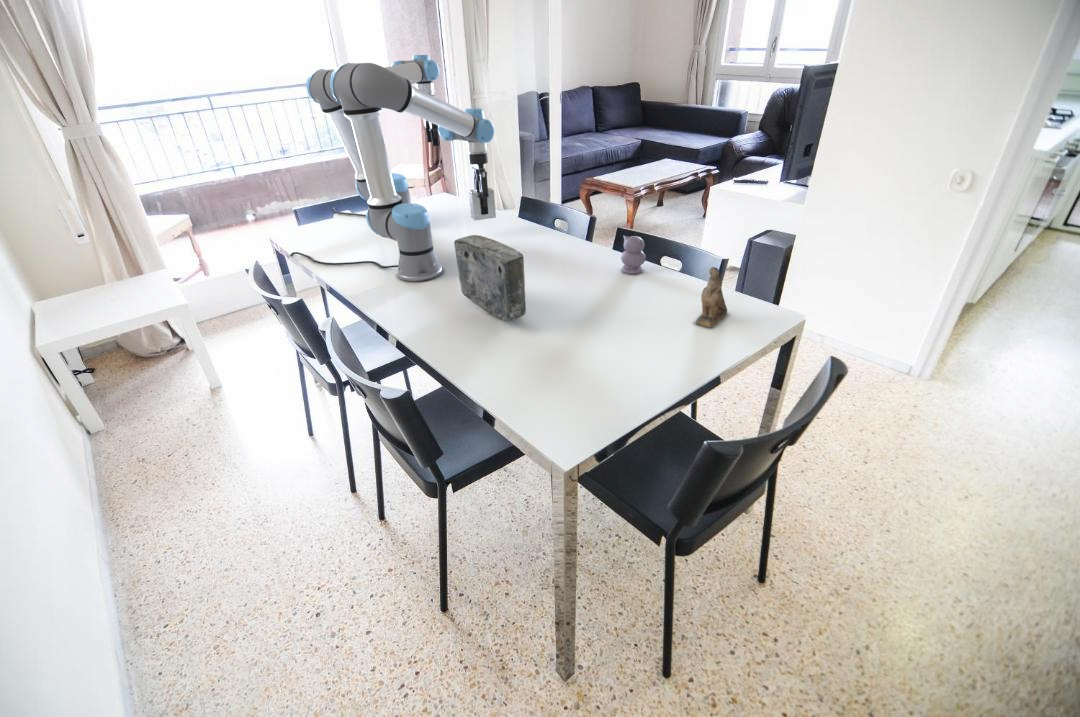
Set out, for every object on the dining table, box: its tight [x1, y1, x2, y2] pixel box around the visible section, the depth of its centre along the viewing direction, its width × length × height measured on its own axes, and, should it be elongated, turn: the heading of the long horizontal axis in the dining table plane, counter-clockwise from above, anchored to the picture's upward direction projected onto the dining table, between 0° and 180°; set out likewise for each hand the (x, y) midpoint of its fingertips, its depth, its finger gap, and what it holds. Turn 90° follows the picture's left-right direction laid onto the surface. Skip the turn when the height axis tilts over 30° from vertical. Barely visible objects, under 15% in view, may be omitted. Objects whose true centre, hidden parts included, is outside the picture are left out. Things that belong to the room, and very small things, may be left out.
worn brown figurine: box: [695, 266, 728, 328], centre depth 135 cm, size 12×6×18 cm, turn 136°
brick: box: [468, 187, 497, 221], centre depth 204 cm, size 9×6×11 cm, turn 111°
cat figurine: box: [620, 234, 646, 275], centre depth 168 cm, size 9×8×12 cm
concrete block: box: [453, 234, 527, 322], centre depth 143 cm, size 27×9×20 cm, turn 36°
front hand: (482, 212), depth 206 cm, fingers closed on brick, 5 cm apart
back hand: (433, 144), depth 239 cm, fingers open, 13 cm apart
